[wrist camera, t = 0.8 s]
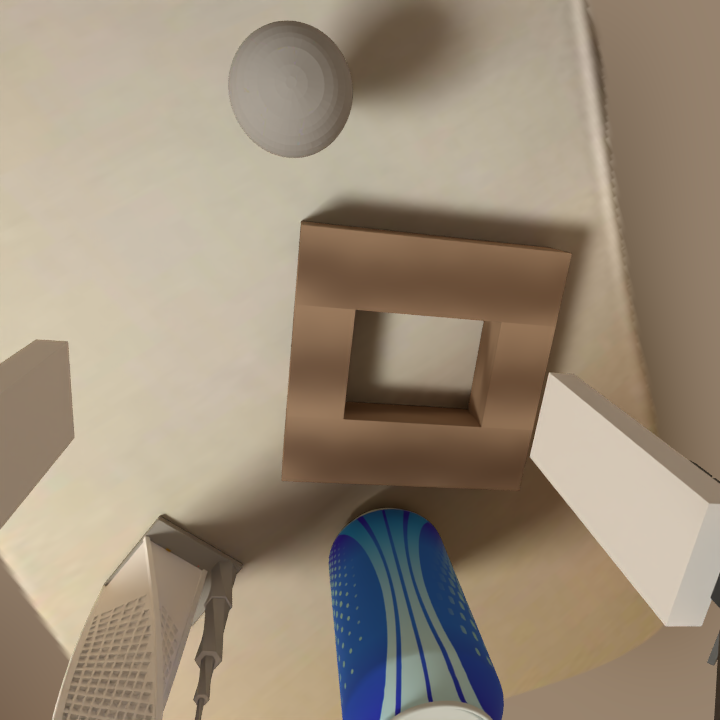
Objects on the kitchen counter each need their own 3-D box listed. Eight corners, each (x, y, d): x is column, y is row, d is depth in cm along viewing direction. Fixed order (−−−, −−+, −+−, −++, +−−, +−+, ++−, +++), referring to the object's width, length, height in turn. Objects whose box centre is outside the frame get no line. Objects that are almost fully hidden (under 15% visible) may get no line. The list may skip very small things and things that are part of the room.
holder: (301, 221, 34) (301, 225, 31) (549, 247, 36) (571, 253, 33) (282, 458, 38) (281, 481, 35) (503, 468, 41) (519, 490, 38)
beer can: (322, 505, 40) (340, 705, 25) (437, 491, 41) (523, 677, 25) (332, 600, 42) (353, 833, 27) (440, 585, 43) (519, 805, 28)
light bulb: (313, 40, 31) (322, -22, 21) (355, 137, 32) (380, 119, 23) (225, 84, 31) (195, 42, 21) (271, 178, 33) (262, 177, 23)
